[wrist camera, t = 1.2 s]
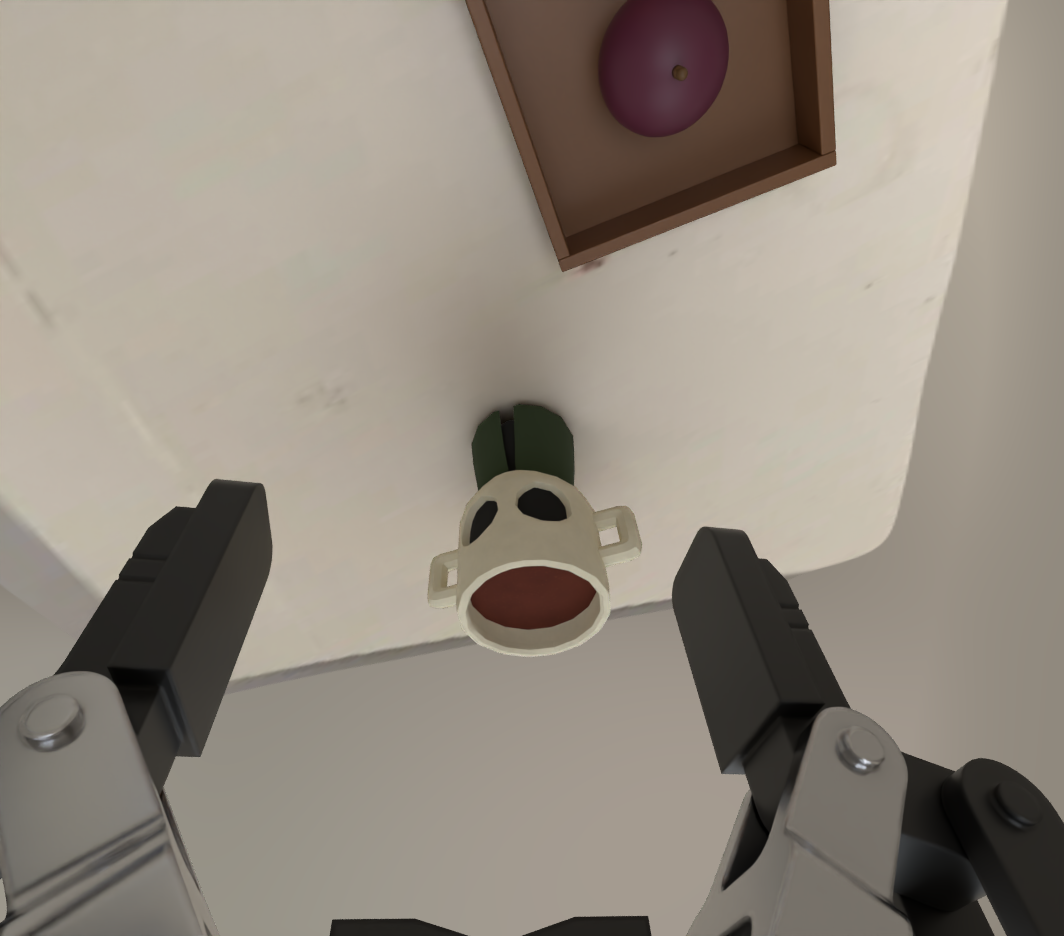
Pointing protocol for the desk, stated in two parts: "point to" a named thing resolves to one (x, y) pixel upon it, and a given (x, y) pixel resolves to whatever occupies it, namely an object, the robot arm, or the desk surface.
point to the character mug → (530, 543)
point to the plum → (663, 64)
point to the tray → (656, 162)
